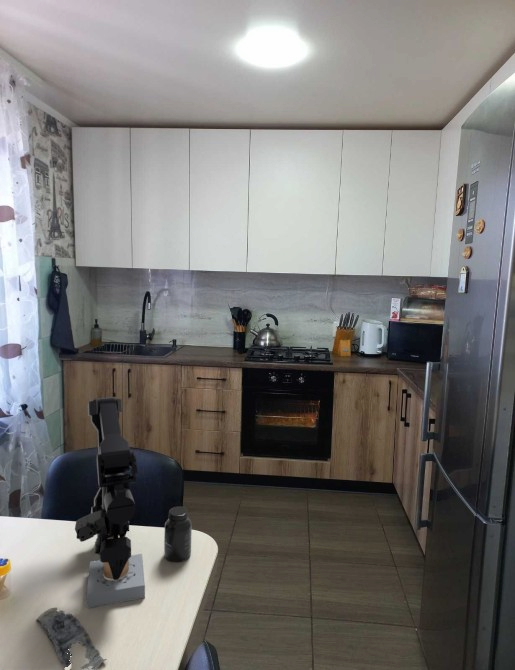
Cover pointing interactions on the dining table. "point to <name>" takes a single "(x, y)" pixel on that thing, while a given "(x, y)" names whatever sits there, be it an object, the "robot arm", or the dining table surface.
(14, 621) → the dining table surface
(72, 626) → the driftwood
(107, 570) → the peg
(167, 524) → the supplement bottle
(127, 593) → the board
